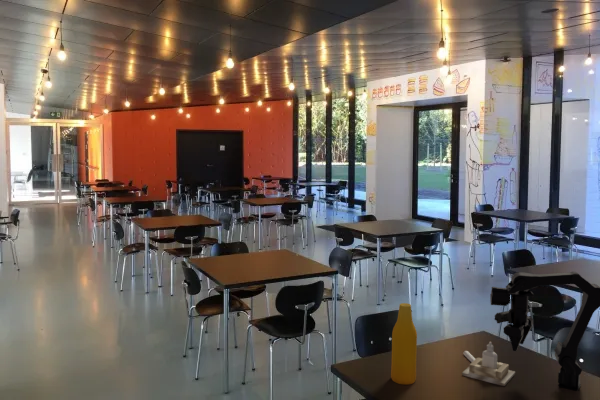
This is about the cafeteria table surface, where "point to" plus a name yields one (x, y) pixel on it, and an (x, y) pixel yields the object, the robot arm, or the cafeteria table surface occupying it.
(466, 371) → the collar block
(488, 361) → the eye dropper bottle
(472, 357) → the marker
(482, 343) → the cafeteria table surface
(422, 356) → the cafeteria table surface
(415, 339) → the beer bottle
